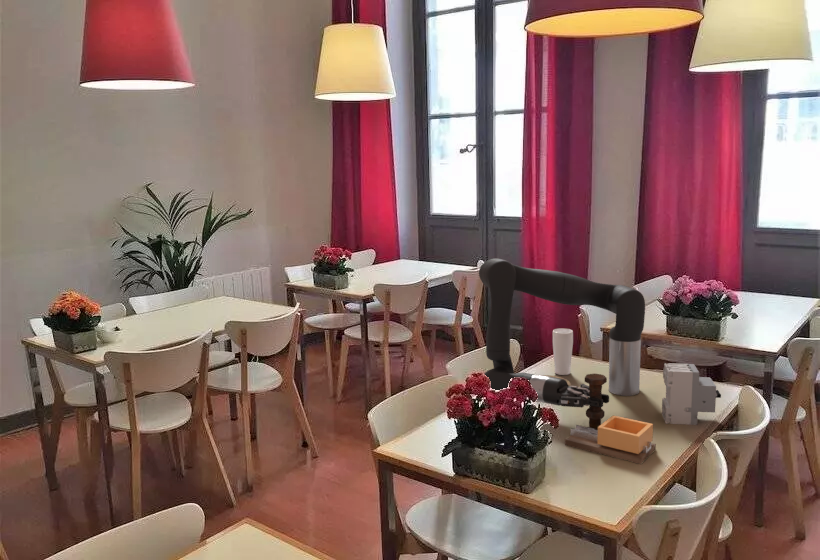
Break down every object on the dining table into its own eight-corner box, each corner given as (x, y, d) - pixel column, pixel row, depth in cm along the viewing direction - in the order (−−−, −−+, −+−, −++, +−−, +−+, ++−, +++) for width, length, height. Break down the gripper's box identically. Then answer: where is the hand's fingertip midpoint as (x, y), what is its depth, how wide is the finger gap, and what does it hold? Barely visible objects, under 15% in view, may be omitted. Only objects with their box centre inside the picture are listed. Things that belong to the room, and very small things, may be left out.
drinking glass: (552, 376, 235) (552, 333, 233) (552, 370, 242) (552, 328, 239) (573, 376, 234) (573, 333, 231) (572, 370, 241) (572, 328, 238)
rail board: (581, 432, 188) (581, 426, 188) (655, 449, 176) (655, 444, 176) (565, 444, 181) (565, 439, 180) (640, 464, 168) (641, 458, 168)
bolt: (580, 427, 192) (581, 374, 189) (595, 423, 194) (596, 372, 191) (594, 434, 187) (594, 381, 184) (609, 430, 189) (610, 378, 186)
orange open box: (612, 431, 182) (612, 415, 182) (652, 440, 176) (653, 423, 175) (597, 444, 175) (597, 427, 174) (638, 454, 169) (639, 436, 168)
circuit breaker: (721, 425, 189) (723, 373, 187) (665, 423, 192) (667, 371, 190) (714, 415, 197) (717, 364, 194) (661, 413, 200) (663, 363, 197)
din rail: (576, 430, 186) (576, 424, 185) (651, 448, 173) (651, 441, 173) (570, 435, 183) (570, 428, 183) (646, 453, 171) (646, 446, 170)
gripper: (535, 383, 191) (594, 395, 181) (559, 370, 202) (616, 380, 192) (535, 409, 193) (594, 423, 182) (558, 395, 204) (615, 406, 193)
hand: (605, 401), depth 187 cm, fingers closed on bolt, 3 cm apart
